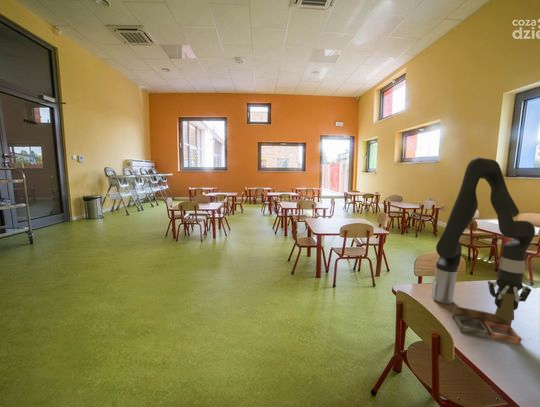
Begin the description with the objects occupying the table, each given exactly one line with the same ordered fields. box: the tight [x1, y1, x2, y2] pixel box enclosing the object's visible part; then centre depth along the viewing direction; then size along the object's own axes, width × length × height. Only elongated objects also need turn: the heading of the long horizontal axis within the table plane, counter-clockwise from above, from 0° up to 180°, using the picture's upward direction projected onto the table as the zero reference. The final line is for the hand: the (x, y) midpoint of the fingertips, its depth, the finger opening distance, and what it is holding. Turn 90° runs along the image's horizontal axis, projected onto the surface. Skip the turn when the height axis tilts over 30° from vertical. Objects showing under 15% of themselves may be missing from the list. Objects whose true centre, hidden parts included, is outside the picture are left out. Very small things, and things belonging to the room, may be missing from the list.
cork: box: [494, 292, 516, 321], centre depth 109 cm, size 6×6×11 cm
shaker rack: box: [451, 305, 522, 346], centre depth 113 cm, size 21×11×6 cm, turn 68°
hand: (505, 307), depth 109 cm, fingers closed on cork, 4 cm apart
